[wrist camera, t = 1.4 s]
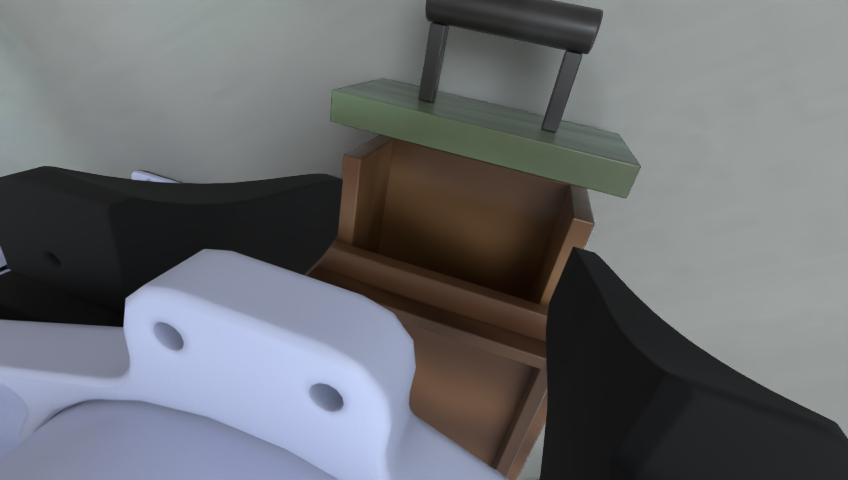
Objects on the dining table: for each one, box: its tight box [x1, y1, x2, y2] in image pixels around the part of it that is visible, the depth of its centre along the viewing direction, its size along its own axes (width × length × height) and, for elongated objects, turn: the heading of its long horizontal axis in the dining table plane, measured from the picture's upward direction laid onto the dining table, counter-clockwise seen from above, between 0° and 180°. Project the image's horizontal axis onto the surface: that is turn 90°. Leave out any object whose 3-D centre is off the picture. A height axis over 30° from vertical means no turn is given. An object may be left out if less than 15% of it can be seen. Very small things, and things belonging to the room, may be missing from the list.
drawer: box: [330, 0, 641, 307], centre depth 19 cm, size 18×11×5 cm, turn 169°
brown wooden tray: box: [307, 268, 547, 477], centre depth 20 cm, size 11×12×1 cm
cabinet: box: [304, 237, 548, 480], centre depth 23 cm, size 14×12×7 cm
